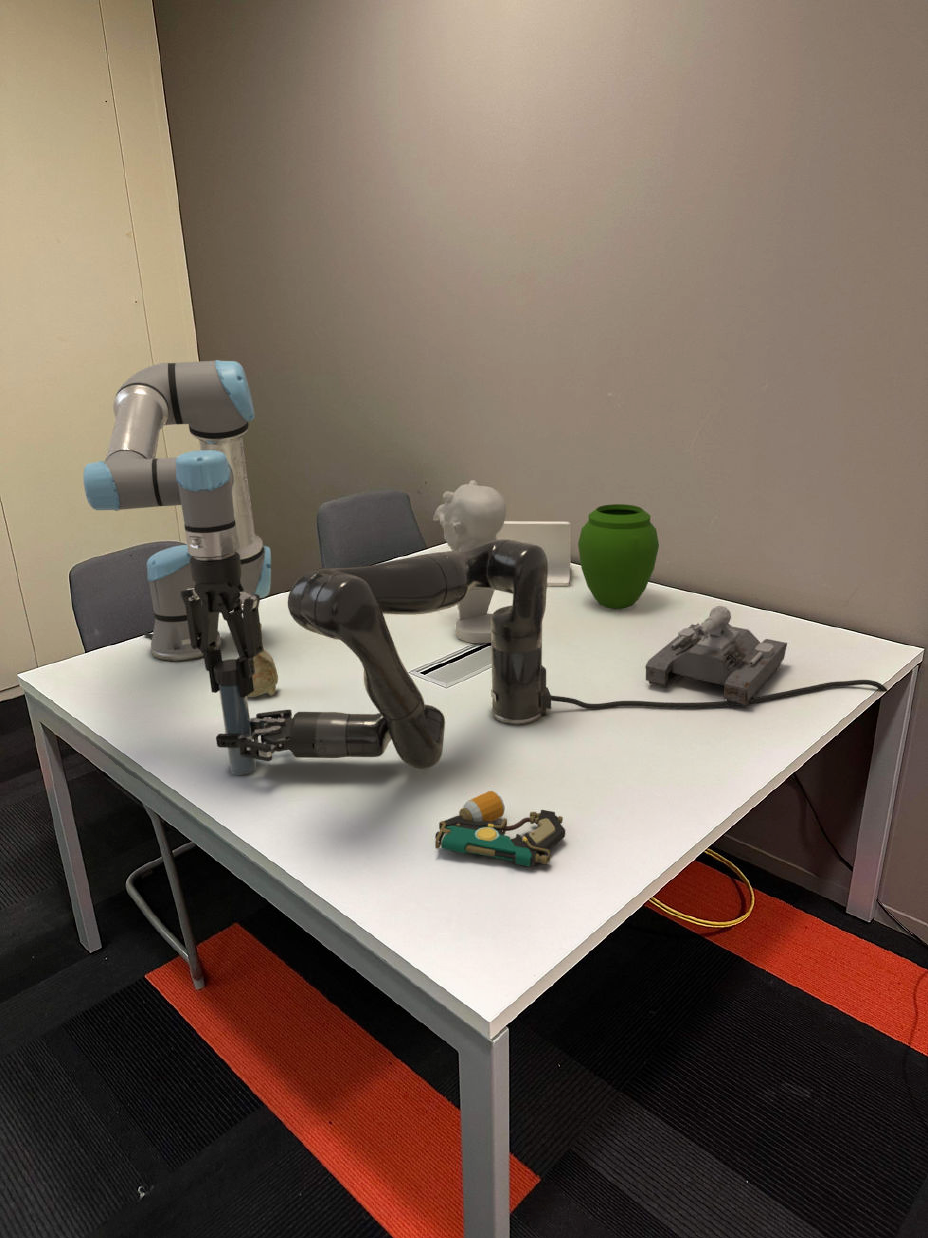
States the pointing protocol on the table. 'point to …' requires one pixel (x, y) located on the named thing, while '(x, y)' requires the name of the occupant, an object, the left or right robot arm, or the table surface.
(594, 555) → the vase
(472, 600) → the bust sculpture
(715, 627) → the toy
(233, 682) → the lid
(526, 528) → the tablet stand
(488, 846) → the spray gun
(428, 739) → the right robot arm
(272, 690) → the sculpture
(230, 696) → the bottle
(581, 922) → the table surface
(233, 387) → the left robot arm
